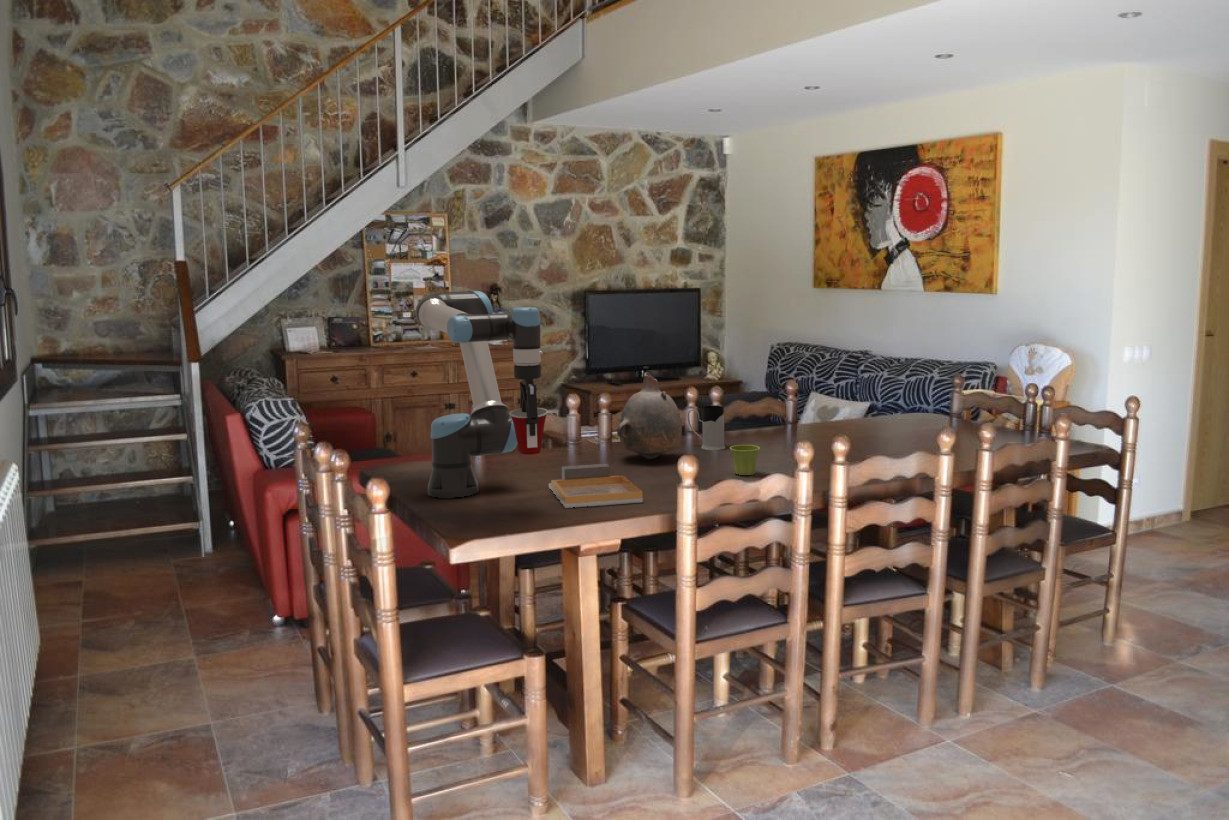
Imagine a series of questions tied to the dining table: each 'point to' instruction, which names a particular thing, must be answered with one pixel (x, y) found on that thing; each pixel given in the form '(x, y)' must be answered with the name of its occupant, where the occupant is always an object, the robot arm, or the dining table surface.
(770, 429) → the dining table surface
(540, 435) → the plastic cup
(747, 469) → the plant pot
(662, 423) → the jug
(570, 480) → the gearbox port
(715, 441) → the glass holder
